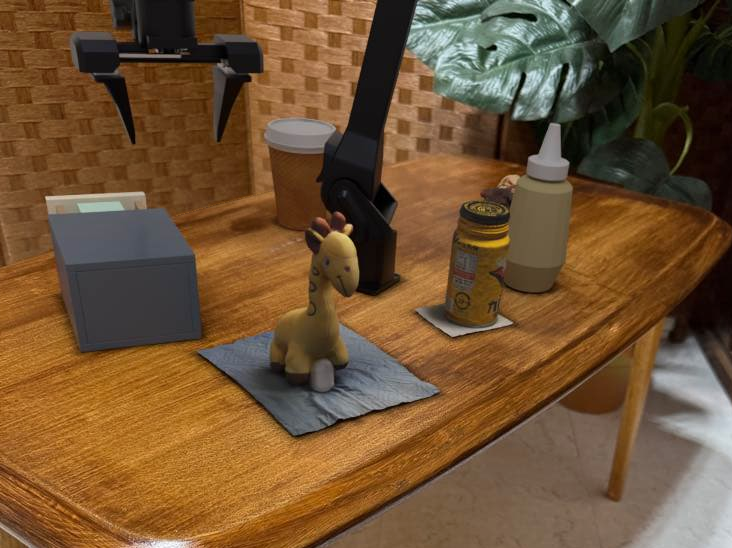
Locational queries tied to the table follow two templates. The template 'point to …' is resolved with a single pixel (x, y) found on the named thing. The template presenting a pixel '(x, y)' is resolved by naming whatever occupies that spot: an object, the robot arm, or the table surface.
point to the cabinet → (126, 278)
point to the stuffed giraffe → (319, 349)
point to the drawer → (94, 201)
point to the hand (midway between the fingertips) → (176, 142)
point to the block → (99, 207)
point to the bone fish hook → (502, 191)
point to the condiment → (474, 271)
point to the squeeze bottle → (540, 219)
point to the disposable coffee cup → (297, 168)
